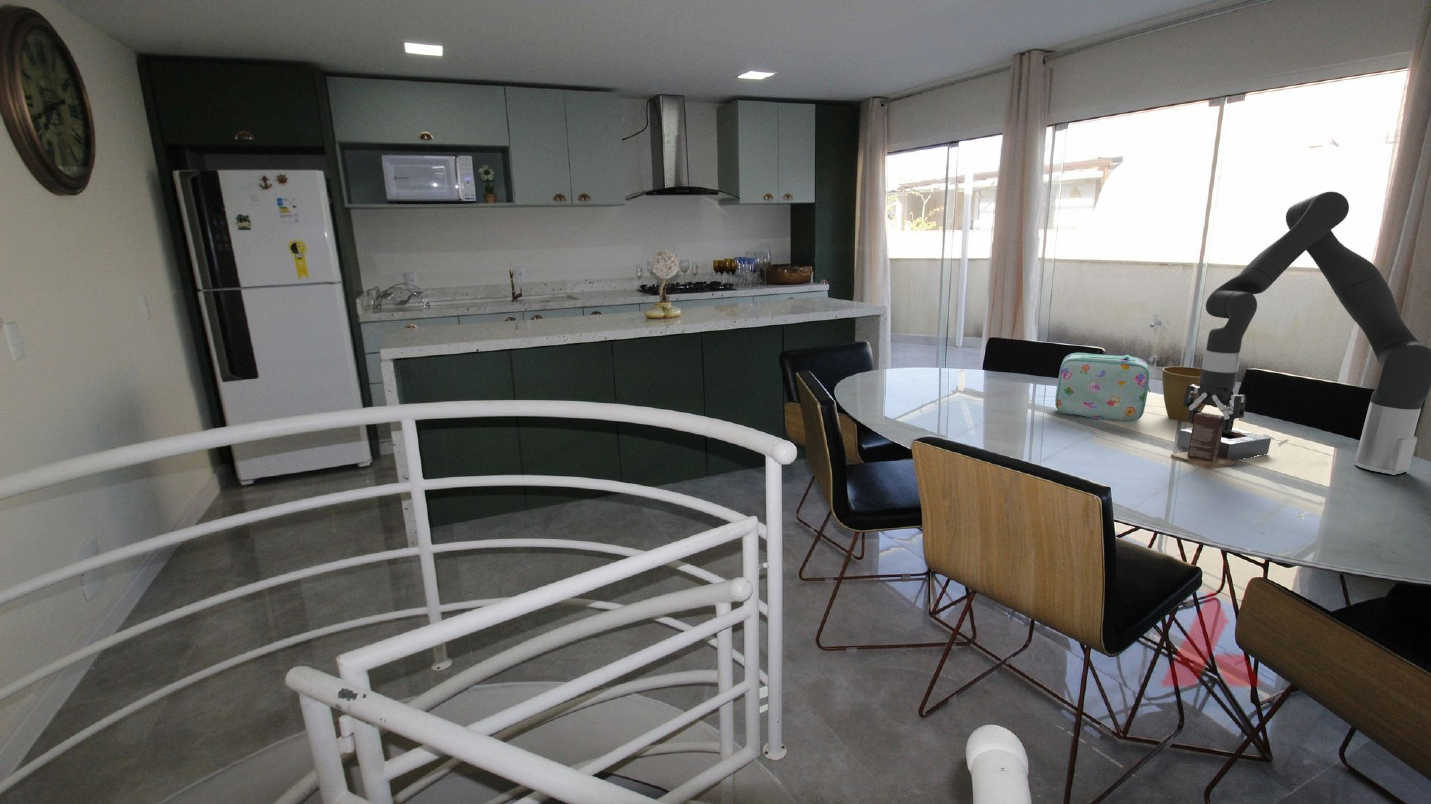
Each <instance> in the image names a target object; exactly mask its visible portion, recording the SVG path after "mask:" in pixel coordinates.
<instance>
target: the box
mask: <svg viewBox="0 0 1431 804" xmlns="http://www.w3.org/2000/svg"><path fill="white" fill-rule="evenodd" d="M1224 419H1225V417H1224V415H1221V414H1220V415H1219V414H1214V413H1213V414H1212V413H1209V412H1203V411H1201V412H1198V413H1196V414H1194V420H1193V424H1192V426H1191V428H1192V432H1191V438H1190V444H1189V449H1188V450H1187V452H1188V455H1187V456H1189V457H1194V458H1199V459H1203V460H1208V461H1212V462H1213V461H1215V460H1216V459H1217V458H1218V453H1219V448H1220V442H1221V437H1222V426H1223V421H1224Z"/></svg>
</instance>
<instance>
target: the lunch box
mask: <svg viewBox="0 0 1431 804" xmlns="http://www.w3.org/2000/svg"><path fill="white" fill-rule="evenodd" d="M1149 368H1150V366H1149V364H1148V363H1147V361H1145V360H1144V359H1142V358H1140V357H1137V356H1131V355H1130V354H1125V355H1113V354H1110V355H1109V354H1099V353H1098V354H1097V353H1088V352H1074V353H1070V354H1067V355H1065V357H1064V358H1063V359H1062V363H1061V365H1060V368H1059V374H1058V377H1057V385H1056V392H1055V403H1054V404H1055V408H1056V409H1057V410H1058V411H1059V412H1060V413H1062V414H1066V415H1073V416H1075V415H1076V416H1081V417H1082V416H1083V417H1087V418H1093V419H1097V420H1108V421H1109V420H1110V421H1118V422H1119V421H1120V422H1135V421H1136V422H1137V421H1139V420H1140V419H1141V418H1142V417H1143V415H1144V412H1145V409H1146V408H1145V407H1146V404H1147V398H1148V393H1151V388H1150V385H1149V384H1150V369H1149Z"/></svg>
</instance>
